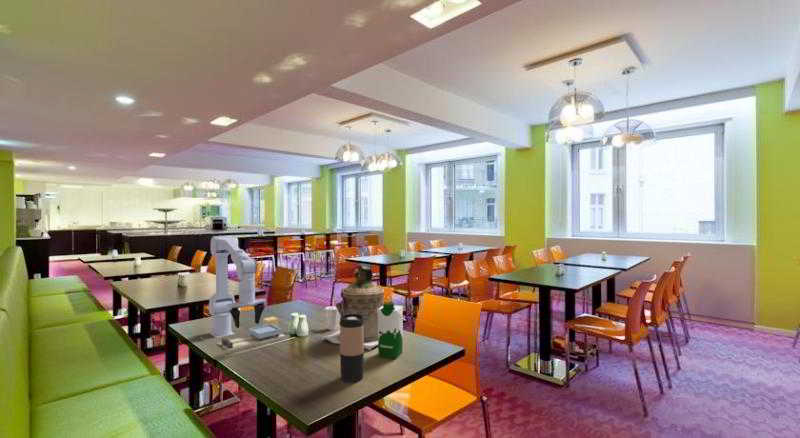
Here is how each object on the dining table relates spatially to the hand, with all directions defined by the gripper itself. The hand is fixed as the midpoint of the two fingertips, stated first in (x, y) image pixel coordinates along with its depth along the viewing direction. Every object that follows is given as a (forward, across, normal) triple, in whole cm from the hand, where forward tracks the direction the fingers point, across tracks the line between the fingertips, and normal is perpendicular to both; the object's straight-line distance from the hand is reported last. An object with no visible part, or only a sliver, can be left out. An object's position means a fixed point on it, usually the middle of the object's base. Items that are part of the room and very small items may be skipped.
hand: (247, 325), depth 152 cm
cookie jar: (+10, +42, -18) cm, 47 cm away
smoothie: (+10, +40, +2) cm, 41 cm away
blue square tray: (+10, +12, +11) cm, 19 cm away
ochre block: (+10, +19, +21) cm, 30 cm away
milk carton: (+10, +38, -41) cm, 57 cm away
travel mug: (+10, +15, -48) cm, 51 cm away
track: (+10, +6, +11) cm, 16 cm away
